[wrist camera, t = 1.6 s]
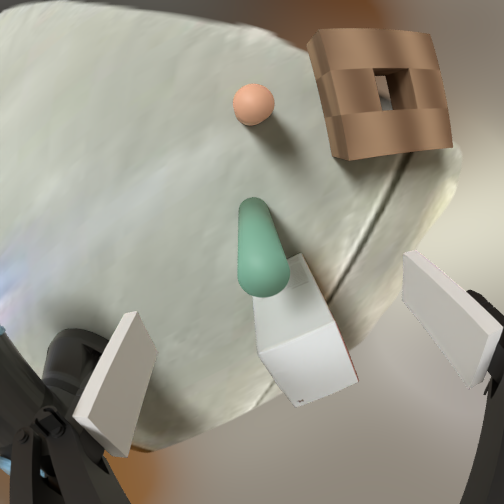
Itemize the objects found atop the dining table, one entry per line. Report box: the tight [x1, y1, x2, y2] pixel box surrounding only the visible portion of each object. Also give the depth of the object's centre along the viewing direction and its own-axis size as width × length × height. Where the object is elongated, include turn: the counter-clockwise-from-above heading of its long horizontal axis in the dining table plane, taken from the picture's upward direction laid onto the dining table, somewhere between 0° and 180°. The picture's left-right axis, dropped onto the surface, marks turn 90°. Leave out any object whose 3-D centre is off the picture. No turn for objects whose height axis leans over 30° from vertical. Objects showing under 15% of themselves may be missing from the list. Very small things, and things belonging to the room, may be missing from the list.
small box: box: [253, 253, 359, 407], centre depth 27 cm, size 8×6×13 cm
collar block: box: [306, 28, 453, 161], centre depth 23 cm, size 12×12×5 cm
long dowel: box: [238, 197, 290, 298], centre depth 23 cm, size 3×3×14 cm
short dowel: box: [233, 84, 274, 126], centre depth 23 cm, size 3×3×7 cm
